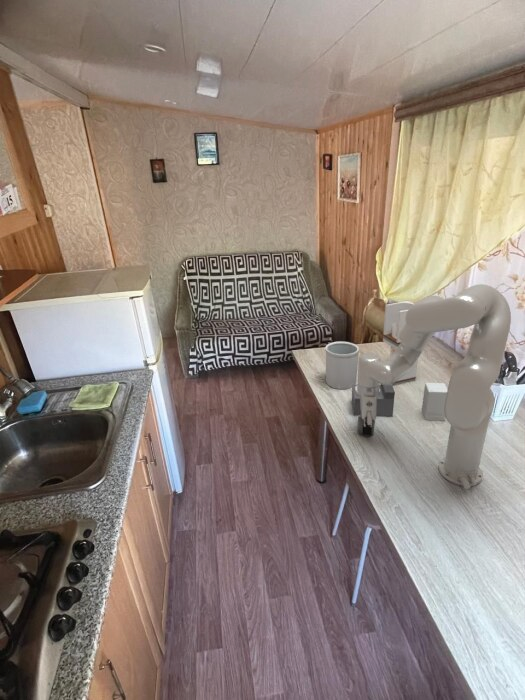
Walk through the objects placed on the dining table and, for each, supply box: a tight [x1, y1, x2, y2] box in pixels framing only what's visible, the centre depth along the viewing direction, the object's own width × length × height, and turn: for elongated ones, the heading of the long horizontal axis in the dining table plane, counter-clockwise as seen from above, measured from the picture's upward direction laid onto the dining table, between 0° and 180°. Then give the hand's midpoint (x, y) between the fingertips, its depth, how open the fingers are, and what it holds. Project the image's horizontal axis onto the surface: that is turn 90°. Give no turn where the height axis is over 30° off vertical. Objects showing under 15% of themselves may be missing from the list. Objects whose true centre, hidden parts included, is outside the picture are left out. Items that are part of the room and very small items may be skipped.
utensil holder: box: [324, 341, 360, 390], centre depth 177 cm, size 15×15×18 cm
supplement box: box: [421, 382, 448, 422], centre depth 149 cm, size 7×7×13 cm
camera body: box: [351, 384, 396, 417], centre depth 157 cm, size 11×15×11 cm
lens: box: [357, 413, 376, 438], centre depth 144 cm, size 6×6×7 cm
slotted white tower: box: [382, 300, 419, 387], centre depth 173 cm, size 11×11×35 cm
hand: (365, 428), depth 144 cm, fingers closed on lens, 6 cm apart
